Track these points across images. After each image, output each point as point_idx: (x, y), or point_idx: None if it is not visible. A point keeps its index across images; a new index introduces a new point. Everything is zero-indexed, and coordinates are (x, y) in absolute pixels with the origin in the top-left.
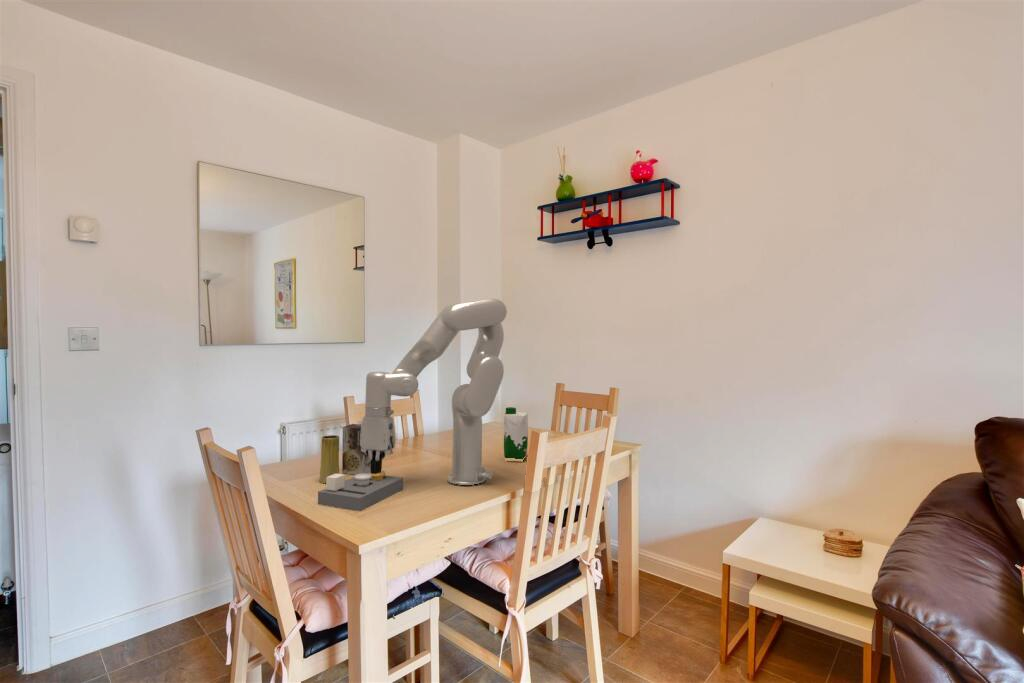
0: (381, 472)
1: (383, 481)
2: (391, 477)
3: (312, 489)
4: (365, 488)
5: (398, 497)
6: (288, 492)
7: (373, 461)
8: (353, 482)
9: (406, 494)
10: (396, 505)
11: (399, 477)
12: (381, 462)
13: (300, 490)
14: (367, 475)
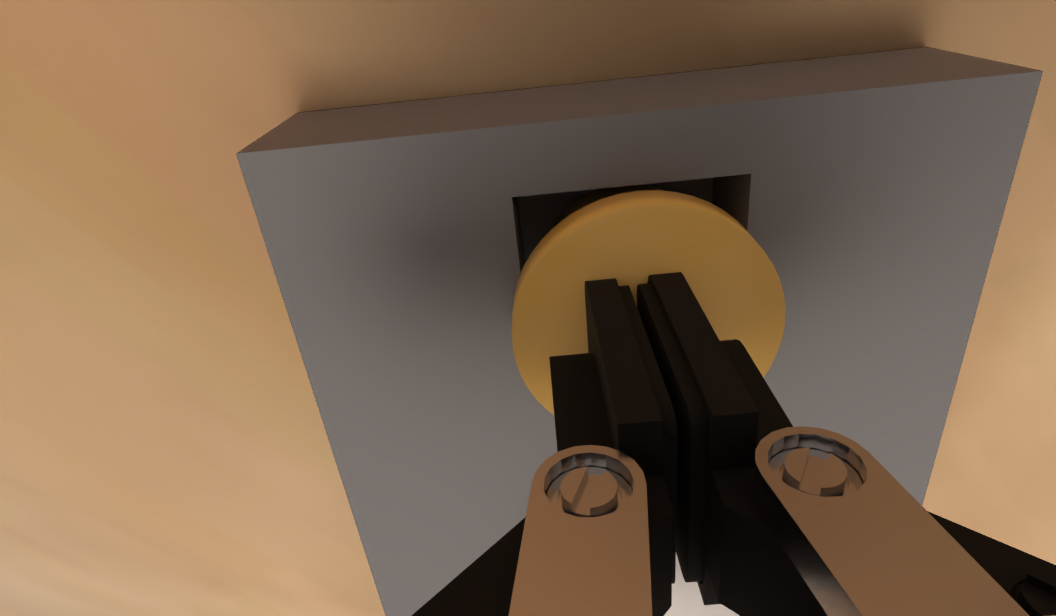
0: (715, 303)
1: (812, 367)
2: (828, 157)
3: (61, 500)
4: None
5: (985, 318)
6: (9, 611)
7: (672, 574)
8: (496, 535)
9: (1045, 200)
10: (1044, 476)
11: (965, 86)
12: (783, 427)
13: (17, 553)
14: (715, 614)
